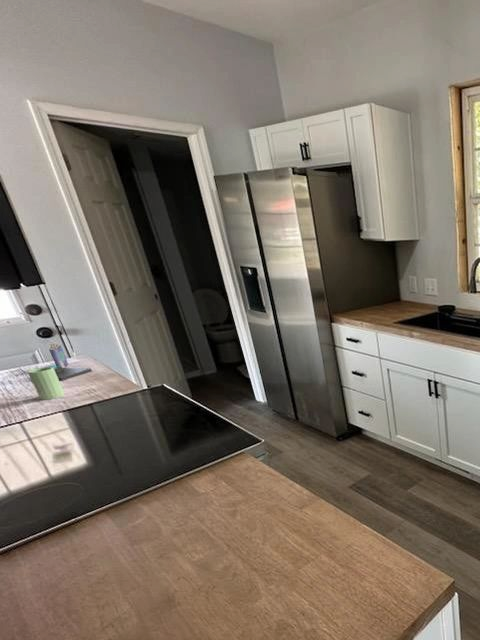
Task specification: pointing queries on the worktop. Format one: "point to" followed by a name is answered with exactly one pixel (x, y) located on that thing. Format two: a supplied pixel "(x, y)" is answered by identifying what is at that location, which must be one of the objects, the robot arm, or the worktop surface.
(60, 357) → the french fries carton
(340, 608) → the worktop surface
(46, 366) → the tare button
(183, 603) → the worktop surface
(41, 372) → the cup
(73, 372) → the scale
